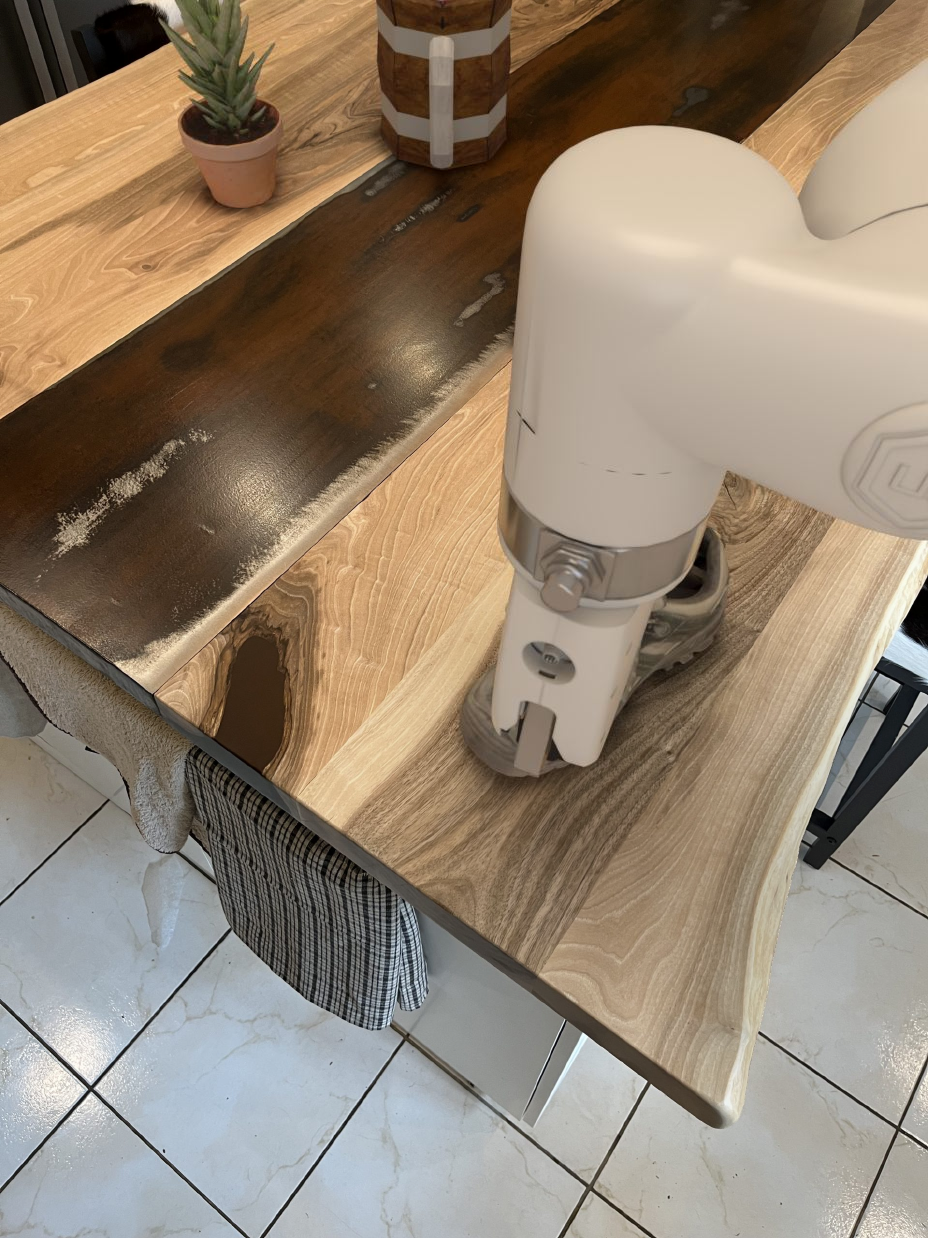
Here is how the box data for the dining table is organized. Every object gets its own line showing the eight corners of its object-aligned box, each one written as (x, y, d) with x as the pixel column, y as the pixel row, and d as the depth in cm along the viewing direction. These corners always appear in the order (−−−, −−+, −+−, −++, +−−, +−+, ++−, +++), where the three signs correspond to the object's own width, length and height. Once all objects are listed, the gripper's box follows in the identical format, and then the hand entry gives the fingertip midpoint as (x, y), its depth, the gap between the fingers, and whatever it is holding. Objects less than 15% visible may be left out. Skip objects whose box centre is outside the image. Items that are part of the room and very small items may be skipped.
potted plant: (213, 228, 90) (147, -78, 69) (181, 180, 94) (110, -120, 74) (310, 202, 92) (274, -100, 72) (274, 157, 97) (230, -138, 77)
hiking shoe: (406, 687, 58) (492, 644, 47) (630, 541, 68) (742, 479, 57) (485, 815, 58) (589, 800, 47) (697, 650, 68) (821, 608, 57)
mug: (384, 103, 104) (376, -55, 92) (505, 106, 104) (514, -51, 92) (372, 201, 93) (362, 36, 80) (509, 204, 93) (519, 40, 81)
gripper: (647, 702, 29) (573, 900, 44) (748, 402, 37) (656, 655, 52) (425, 624, 31) (426, 841, 46) (569, 352, 39) (529, 611, 54)
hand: (549, 741), depth 49 cm, fingers closed
